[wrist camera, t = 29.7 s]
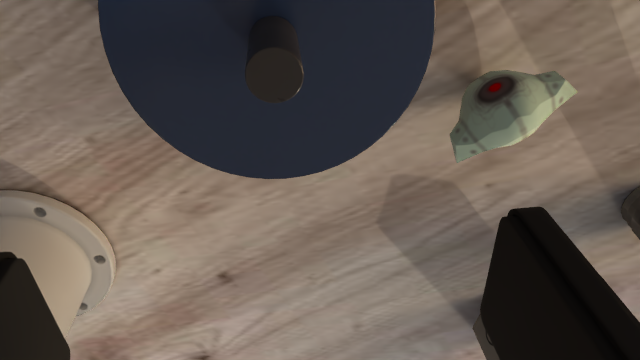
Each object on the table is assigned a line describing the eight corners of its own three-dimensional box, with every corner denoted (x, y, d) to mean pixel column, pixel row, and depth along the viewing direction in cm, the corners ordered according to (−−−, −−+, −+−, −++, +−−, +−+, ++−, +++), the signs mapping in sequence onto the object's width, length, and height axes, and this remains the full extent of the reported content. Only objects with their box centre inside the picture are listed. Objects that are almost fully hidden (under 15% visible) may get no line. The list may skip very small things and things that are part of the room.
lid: (148, 179, 28) (122, 246, 23) (55, -155, 19) (-22, -166, 14) (416, 158, 29) (448, 218, 24) (446, -169, 20) (506, -184, 15)
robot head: (438, 136, 34) (473, 188, 28) (412, 93, 32) (443, 140, 26) (542, 73, 32) (601, 115, 26) (521, 23, 30) (580, 57, 24)
